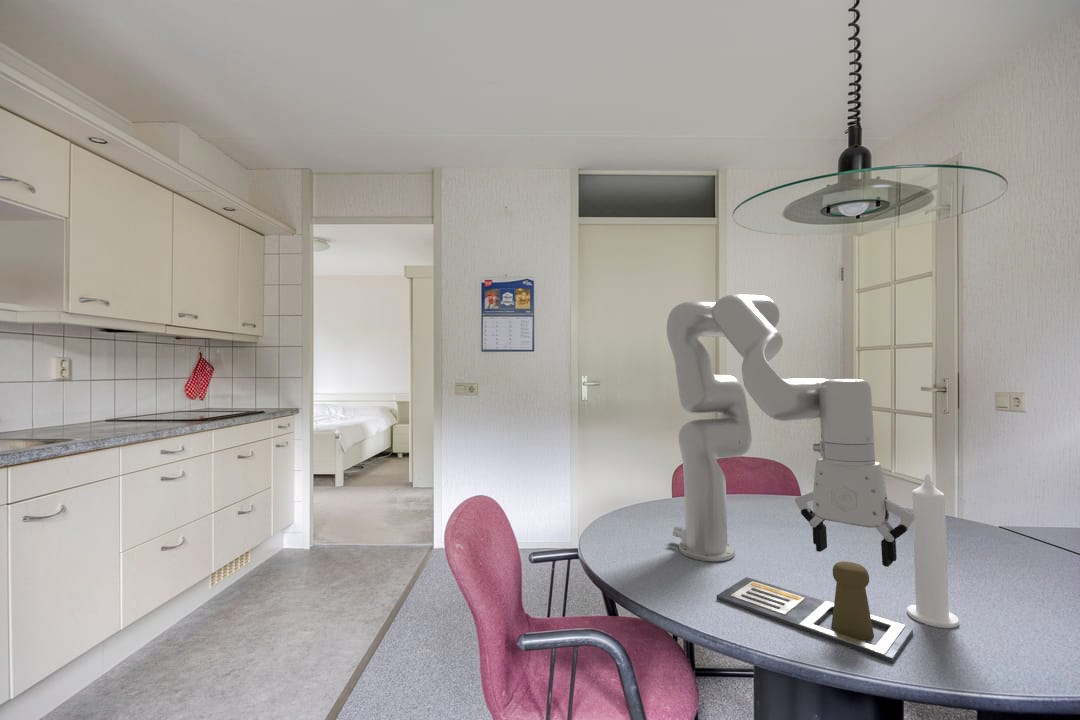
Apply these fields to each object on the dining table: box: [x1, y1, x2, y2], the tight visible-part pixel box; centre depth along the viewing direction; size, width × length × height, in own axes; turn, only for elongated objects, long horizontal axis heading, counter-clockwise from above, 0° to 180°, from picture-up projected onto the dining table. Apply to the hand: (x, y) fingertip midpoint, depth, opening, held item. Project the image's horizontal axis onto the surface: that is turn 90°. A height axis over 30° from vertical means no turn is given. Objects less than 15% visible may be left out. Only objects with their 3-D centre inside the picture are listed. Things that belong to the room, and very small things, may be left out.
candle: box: [906, 473, 960, 629], centre depth 86 cm, size 7×7×25 cm
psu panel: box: [716, 576, 914, 664], centre depth 87 cm, size 28×12×1 cm, turn 41°
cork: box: [830, 561, 875, 642], centre depth 82 cm, size 6×6×11 cm
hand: (853, 556), depth 82 cm, fingers open, 9 cm apart
